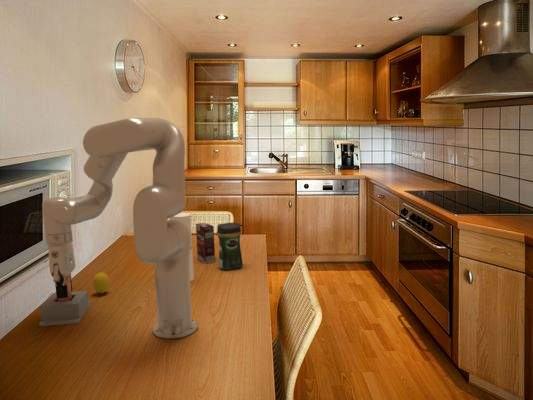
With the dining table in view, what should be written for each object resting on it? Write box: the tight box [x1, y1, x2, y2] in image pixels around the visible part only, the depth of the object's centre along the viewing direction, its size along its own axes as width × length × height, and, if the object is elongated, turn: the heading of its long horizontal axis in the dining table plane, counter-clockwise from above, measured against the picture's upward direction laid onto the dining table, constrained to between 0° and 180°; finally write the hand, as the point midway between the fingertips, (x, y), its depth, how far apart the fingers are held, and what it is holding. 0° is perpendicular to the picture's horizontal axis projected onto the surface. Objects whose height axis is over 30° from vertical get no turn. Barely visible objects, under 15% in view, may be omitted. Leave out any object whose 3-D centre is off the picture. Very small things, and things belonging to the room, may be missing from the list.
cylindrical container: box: [170, 212, 195, 282], centre depth 174 cm, size 7×7×25 cm
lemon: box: [92, 271, 110, 295], centre depth 163 cm, size 6×6×8 cm
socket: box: [38, 290, 92, 327], centre depth 146 cm, size 16×11×5 cm
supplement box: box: [195, 222, 216, 264], centre depth 200 cm, size 9×5×16 cm, turn 33°
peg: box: [58, 274, 72, 302], centre depth 145 cm, size 4×4×12 cm
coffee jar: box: [216, 221, 244, 271], centre depth 189 cm, size 10×8×19 cm
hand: (64, 294), depth 145 cm, fingers closed on peg, 3 cm apart
